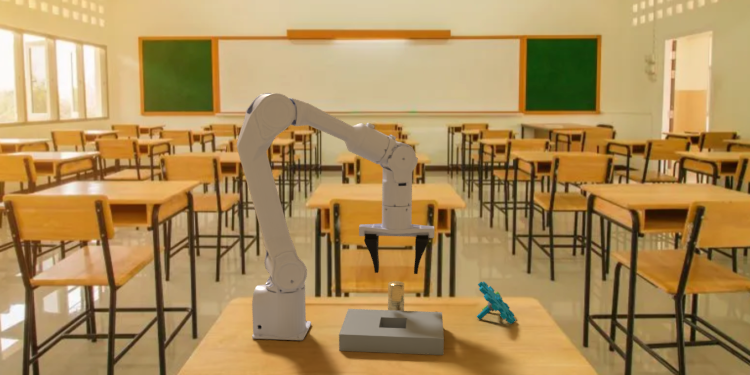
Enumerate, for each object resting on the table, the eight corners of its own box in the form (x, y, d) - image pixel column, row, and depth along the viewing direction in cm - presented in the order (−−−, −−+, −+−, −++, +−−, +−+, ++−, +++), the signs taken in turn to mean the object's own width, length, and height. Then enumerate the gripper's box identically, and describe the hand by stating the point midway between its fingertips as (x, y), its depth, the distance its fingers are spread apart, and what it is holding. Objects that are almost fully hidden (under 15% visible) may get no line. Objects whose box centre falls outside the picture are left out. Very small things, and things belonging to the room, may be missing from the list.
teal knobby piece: (517, 325, 109) (480, 283, 111) (493, 344, 111) (457, 303, 112) (519, 311, 120) (486, 274, 122) (498, 329, 121) (465, 292, 123)
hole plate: (339, 350, 102) (339, 334, 102) (348, 323, 114) (348, 308, 113) (443, 355, 100) (443, 338, 100) (441, 327, 112) (442, 312, 112)
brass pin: (387, 320, 116) (387, 286, 114) (388, 314, 119) (388, 280, 118) (403, 320, 115) (404, 286, 114) (404, 314, 118) (404, 281, 117)
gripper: (434, 200, 116) (433, 266, 119) (361, 199, 118) (361, 264, 120) (434, 207, 109) (433, 277, 112) (357, 206, 111) (357, 275, 113)
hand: (396, 271), depth 115 cm, fingers open, 7 cm apart
